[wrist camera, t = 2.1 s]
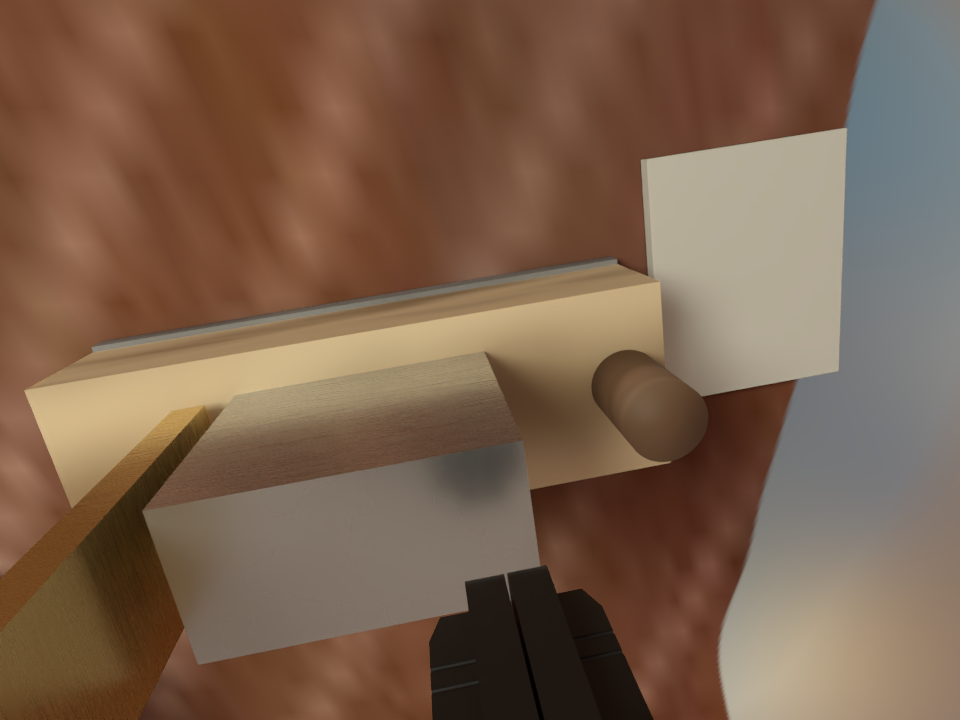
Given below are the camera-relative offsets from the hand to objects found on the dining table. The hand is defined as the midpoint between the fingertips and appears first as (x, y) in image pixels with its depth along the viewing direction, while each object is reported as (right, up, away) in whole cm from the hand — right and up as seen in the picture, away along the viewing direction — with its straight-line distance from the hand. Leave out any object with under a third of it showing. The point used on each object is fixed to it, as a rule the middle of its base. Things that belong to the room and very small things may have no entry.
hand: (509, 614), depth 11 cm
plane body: (-5, +4, +14) cm, 15 cm away
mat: (+10, +8, +14) cm, 19 cm away
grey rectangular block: (-4, +2, +9) cm, 10 cm away
